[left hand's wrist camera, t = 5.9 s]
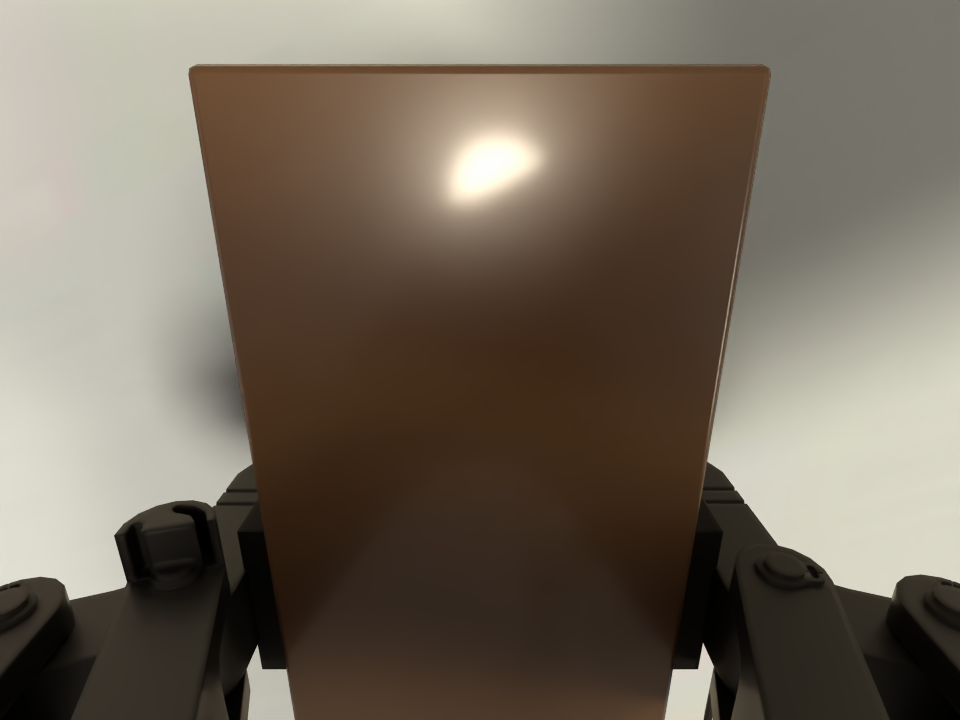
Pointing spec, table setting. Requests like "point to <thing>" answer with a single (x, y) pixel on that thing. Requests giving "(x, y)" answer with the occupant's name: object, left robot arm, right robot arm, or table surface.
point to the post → (479, 367)
